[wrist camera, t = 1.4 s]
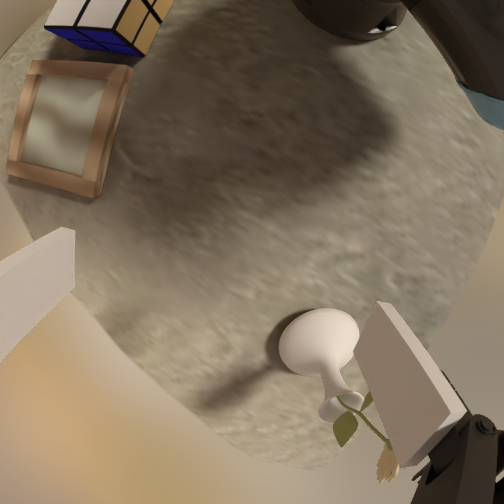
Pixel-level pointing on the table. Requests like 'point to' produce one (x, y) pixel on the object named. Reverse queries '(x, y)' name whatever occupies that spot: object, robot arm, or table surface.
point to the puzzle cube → (109, 23)
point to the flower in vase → (332, 373)
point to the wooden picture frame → (68, 123)
